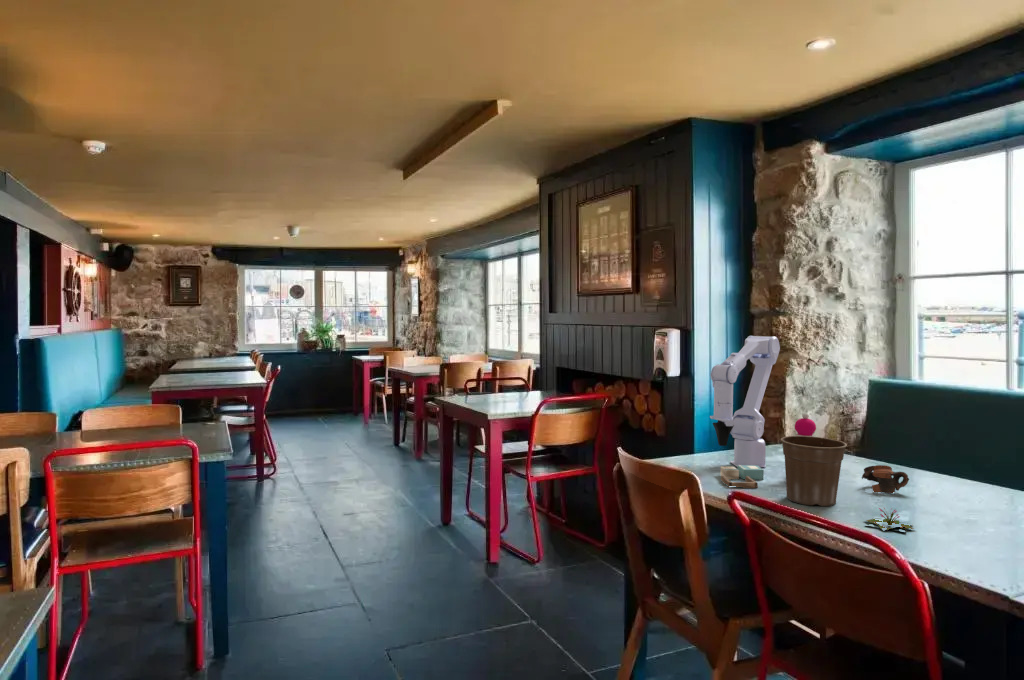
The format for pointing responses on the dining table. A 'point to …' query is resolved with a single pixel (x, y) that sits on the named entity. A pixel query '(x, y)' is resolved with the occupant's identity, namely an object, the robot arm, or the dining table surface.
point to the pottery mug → (885, 478)
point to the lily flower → (889, 520)
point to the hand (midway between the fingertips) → (722, 445)
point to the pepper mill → (805, 426)
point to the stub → (729, 472)
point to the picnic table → (741, 483)
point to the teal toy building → (751, 472)
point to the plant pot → (812, 469)
